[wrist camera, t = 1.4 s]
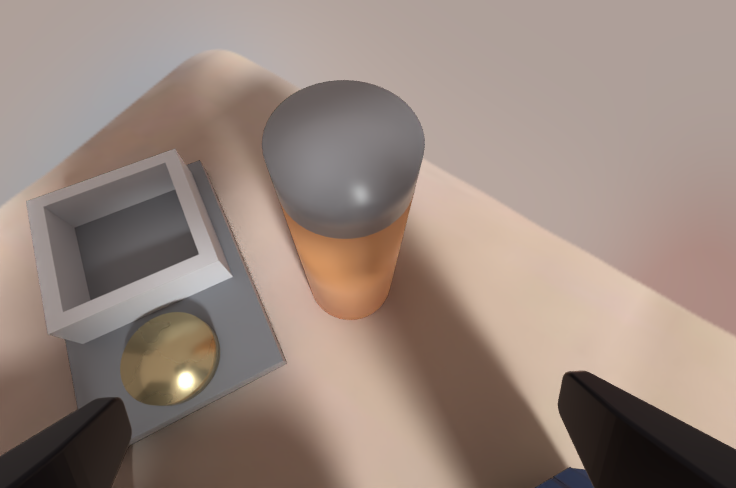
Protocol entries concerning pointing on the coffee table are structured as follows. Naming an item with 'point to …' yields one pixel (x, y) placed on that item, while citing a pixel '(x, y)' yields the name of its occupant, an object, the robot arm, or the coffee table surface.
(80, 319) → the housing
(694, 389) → the coffee table surface
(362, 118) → the peg
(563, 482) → the electronic device
